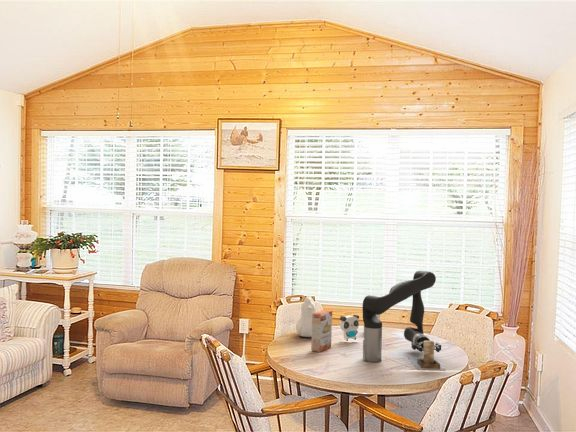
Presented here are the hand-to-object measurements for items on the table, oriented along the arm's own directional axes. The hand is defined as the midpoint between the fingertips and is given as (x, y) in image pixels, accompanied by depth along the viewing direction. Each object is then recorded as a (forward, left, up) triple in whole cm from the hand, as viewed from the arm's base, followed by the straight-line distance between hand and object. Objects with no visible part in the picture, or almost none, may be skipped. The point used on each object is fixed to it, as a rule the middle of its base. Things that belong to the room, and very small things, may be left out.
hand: (430, 349), depth 265 cm
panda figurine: (-33, +54, -9) cm, 64 cm away
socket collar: (0, +2, -9) cm, 9 cm away
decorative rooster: (-56, +67, -9) cm, 88 cm away
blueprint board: (0, +8, -9) cm, 12 cm away
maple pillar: (0, +2, -8) cm, 9 cm away
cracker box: (-51, +34, -9) cm, 62 cm away
